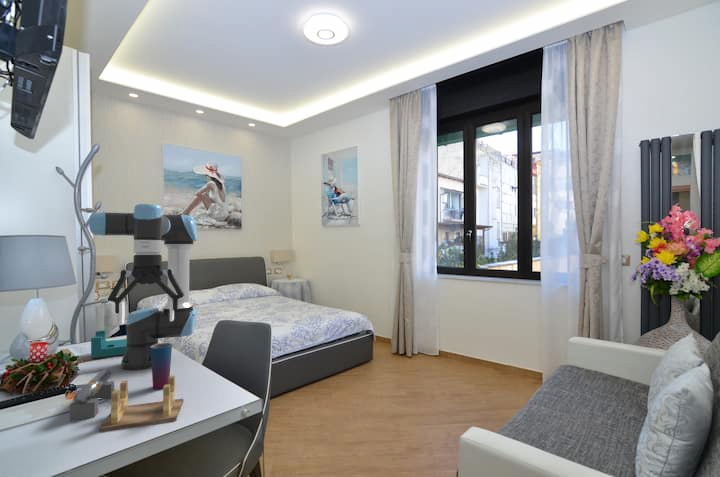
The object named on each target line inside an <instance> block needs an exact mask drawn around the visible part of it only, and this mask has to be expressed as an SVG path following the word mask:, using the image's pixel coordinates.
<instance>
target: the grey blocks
mask: <svg viewBox="0 0 720 477" xmlns="http://www.w3.org/2000/svg"><path fill="white" fill-rule="evenodd" d="M113 391H115V380H111V381H110V380H108V381H107V382H106V383H105V384H104V385H103V386H102V387H101V388H100V390H99V391H98V392H97V393H96V394H95V395H94V396H93V397H92V398H91V399H90V400H89V401H88V402H87V403H85V404H81V405H80V404H76V403H75V402H74V401H73V402H72V403H71V404H70V405H69V421H70V422H71V421H78V420H84V419H93V418H95V417H96V416H97V415H98V414H99V399H98V398H105V399H111V393H112V392H113Z"/></svg>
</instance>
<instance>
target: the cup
mask: <svg viewBox="0 0 720 477" xmlns="http://www.w3.org/2000/svg"><path fill="white" fill-rule="evenodd" d="M150 348H151V364H152V367H151V374H152V375H151V376H152V377H151V378H152V389H153V390H155V391H158V390H159V391H161V390H163V387H164V385H168V378H169V376H171V364H172V363H171V362H172V352H173V351H172V349H173V343H171V342H158V344H155V345H152V346H151V347H150Z"/></svg>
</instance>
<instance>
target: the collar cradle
mask: <svg viewBox="0 0 720 477" xmlns="http://www.w3.org/2000/svg"><path fill="white" fill-rule="evenodd" d="M175 389H176V375H175V374H174V375H170V376H169V378H168V385H164V387H163V389H162V390H163V391H162V394H163V395H162V400H161V401H154V402H147V403H146V402H145V403H138V404H137V403H136V404H131V405H129V380H122V381H121V382H120V383H119V389H117V390H114V391H113V392H112V393H111V398H110V400H111V401H110V403H111V406H110V414H109V415H108V416H107V418H106V419H105V420H104V421H103V423H102V424H101V425H100V427H99V428H98V430H99V431H98V432H99V433H100V432H102V433H103V432H108V431H115V430H121V429H122V430H123V429H128V428H135V427H136V428H137V427H142V426H143V427H144V426H148V425H149V426H150V425H157V424H163V423H169V422H170V423H171V422H176V421H177V420H178V417H179V415H180V412H181V409H182V406H183V404H184V398H178V399H176V394H175V393H176V390H175Z"/></svg>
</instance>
